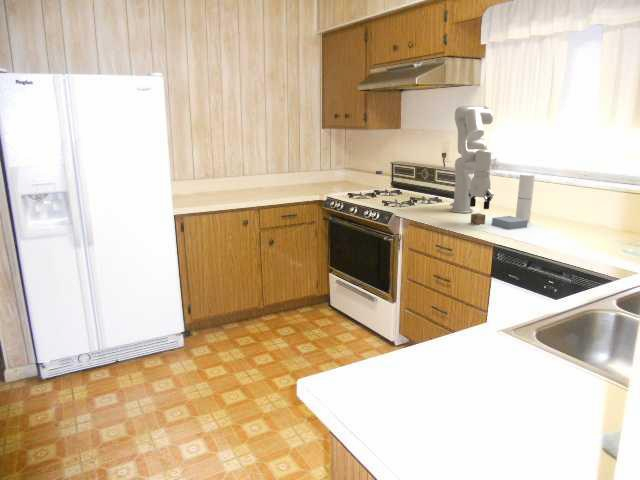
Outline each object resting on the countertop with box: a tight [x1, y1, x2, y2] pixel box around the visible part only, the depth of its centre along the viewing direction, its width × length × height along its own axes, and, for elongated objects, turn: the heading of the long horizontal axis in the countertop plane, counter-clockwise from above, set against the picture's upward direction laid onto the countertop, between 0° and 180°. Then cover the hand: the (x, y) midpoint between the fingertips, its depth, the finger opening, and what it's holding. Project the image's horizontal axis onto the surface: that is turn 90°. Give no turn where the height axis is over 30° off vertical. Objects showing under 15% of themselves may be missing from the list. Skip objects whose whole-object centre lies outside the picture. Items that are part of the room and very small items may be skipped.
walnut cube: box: [470, 212, 486, 226], centre depth 259 cm, size 5×5×5 cm
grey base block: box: [491, 215, 529, 230], centre depth 255 cm, size 12×12×4 cm
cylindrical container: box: [515, 173, 536, 223], centre depth 263 cm, size 7×7×25 cm
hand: (479, 207), depth 257 cm, fingers open, 9 cm apart
